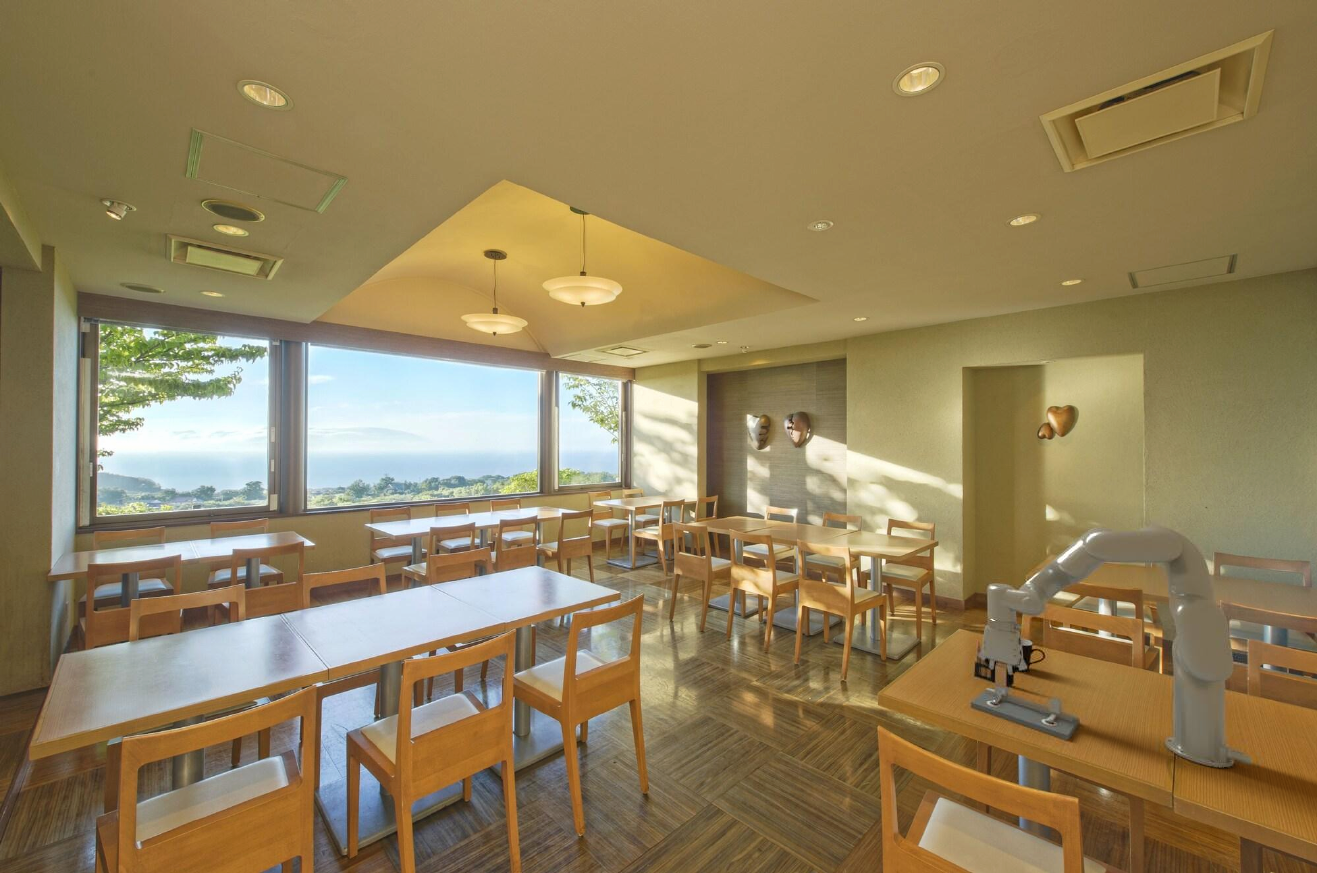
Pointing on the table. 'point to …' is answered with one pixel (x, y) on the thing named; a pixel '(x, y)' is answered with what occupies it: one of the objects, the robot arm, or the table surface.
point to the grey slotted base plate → (1029, 713)
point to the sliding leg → (1000, 682)
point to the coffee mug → (1028, 654)
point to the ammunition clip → (982, 667)
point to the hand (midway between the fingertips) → (1002, 683)
